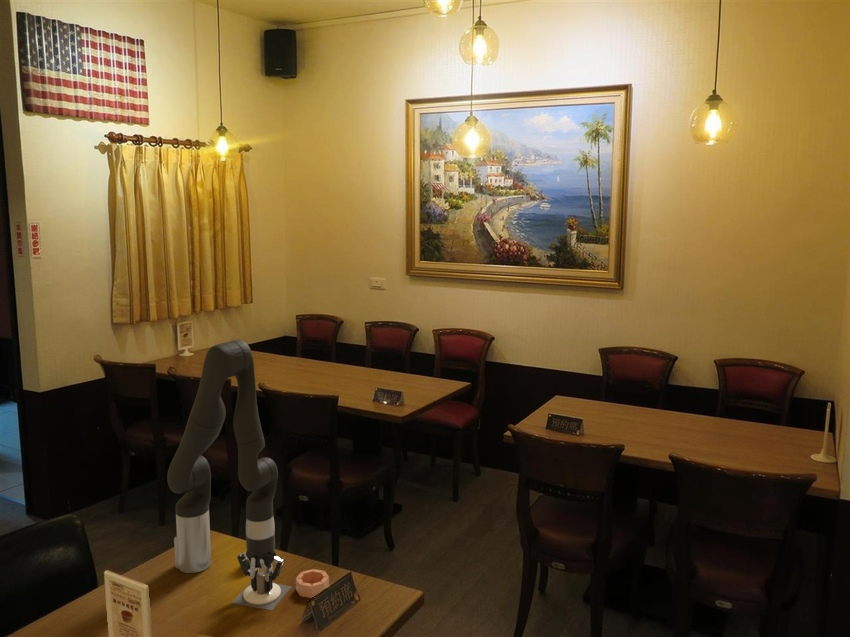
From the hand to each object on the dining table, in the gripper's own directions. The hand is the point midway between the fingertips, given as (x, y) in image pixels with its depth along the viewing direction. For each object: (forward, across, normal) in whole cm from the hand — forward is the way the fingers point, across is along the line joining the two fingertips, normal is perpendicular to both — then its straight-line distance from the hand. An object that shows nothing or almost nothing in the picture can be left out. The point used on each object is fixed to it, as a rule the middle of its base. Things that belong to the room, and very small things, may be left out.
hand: (262, 590), depth 190 cm
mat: (+2, 0, 0) cm, 2 cm away
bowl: (+2, +12, +6) cm, 14 cm away
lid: (+1, 0, 0) cm, 1 cm away
